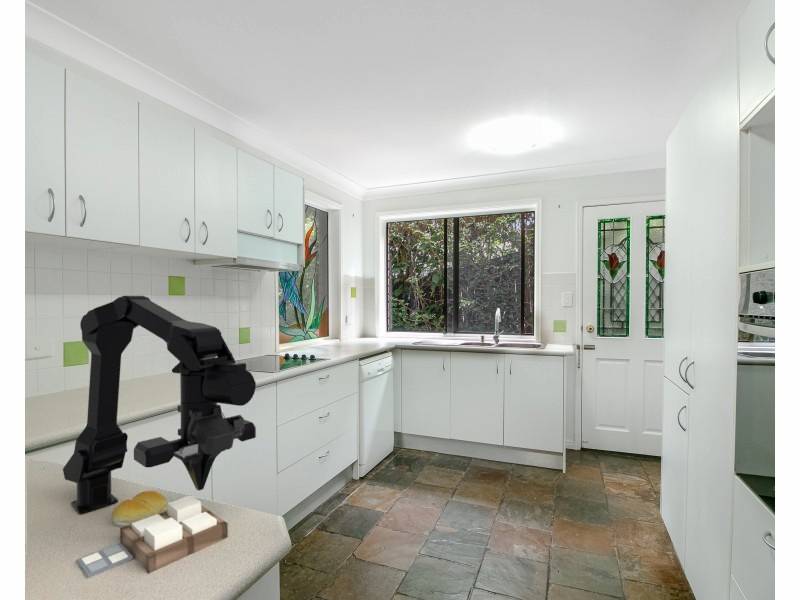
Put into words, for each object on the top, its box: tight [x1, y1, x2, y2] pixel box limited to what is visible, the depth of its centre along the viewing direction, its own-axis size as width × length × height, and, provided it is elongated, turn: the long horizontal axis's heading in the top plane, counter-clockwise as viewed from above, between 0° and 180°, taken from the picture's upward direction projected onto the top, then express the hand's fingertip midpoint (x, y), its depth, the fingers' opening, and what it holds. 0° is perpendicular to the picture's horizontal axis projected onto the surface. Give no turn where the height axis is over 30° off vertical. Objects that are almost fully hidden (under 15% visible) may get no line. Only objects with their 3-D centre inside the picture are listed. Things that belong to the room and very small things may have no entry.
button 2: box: [144, 517, 182, 551], centre depth 70 cm, size 4×4×3 cm
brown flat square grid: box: [119, 504, 229, 574], centre depth 74 cm, size 13×13×2 cm
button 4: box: [181, 512, 217, 535], centre depth 74 cm, size 4×4×3 cm
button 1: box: [132, 514, 165, 538], centre depth 73 cm, size 4×4×3 cm
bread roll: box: [111, 490, 168, 528], centre depth 82 cm, size 8×9×4 cm
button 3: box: [166, 495, 202, 522], centre depth 78 cm, size 4×4×3 cm
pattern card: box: [76, 542, 134, 579], centre depth 68 cm, size 6×6×1 cm
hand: (199, 489), depth 74 cm, fingers closed
